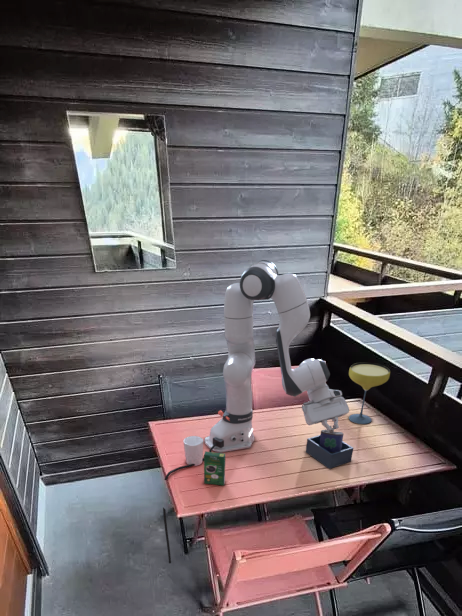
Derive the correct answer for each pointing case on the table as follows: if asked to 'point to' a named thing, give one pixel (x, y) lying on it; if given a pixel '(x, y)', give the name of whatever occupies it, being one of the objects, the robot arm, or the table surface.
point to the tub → (328, 453)
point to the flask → (331, 440)
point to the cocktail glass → (367, 383)
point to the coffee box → (214, 468)
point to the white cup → (193, 450)
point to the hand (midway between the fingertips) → (333, 429)
